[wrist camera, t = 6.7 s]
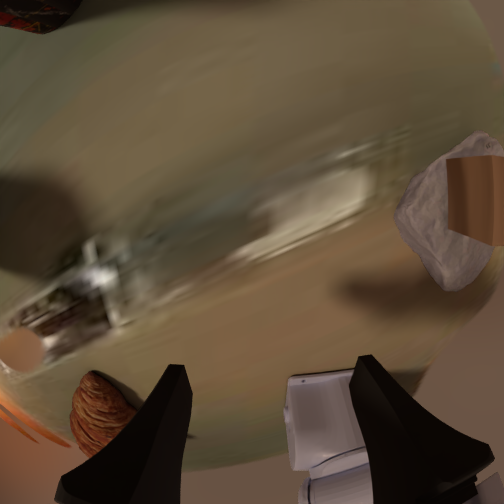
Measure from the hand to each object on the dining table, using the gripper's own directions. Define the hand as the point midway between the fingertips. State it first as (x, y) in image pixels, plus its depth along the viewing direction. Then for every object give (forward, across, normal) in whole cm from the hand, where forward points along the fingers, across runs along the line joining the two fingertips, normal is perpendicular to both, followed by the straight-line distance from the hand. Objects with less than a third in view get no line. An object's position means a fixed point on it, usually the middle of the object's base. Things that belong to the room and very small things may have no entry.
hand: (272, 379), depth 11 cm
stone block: (+10, -16, -5) cm, 20 cm away
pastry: (+10, +20, +23) cm, 32 cm away
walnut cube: (+6, -14, -6) cm, 17 cm away
